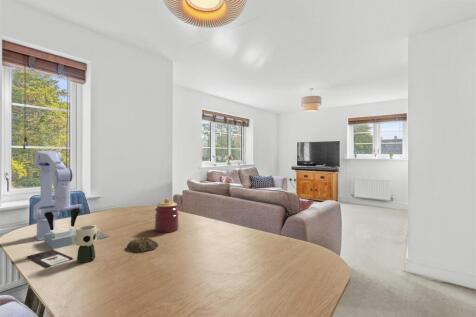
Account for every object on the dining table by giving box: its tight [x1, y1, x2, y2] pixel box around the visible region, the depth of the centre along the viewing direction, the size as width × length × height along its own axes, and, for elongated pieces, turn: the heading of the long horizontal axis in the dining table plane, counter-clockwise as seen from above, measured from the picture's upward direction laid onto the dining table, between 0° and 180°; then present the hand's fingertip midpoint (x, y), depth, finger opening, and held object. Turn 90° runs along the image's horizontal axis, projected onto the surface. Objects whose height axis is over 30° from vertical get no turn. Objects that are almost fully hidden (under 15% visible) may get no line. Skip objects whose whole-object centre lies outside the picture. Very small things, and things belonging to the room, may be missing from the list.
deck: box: [44, 228, 76, 250], centre depth 119 cm, size 14×11×4 cm
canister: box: [154, 197, 180, 233], centre depth 141 cm, size 13×13×18 cm
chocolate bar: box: [26, 248, 74, 269], centre depth 101 cm, size 9×1×18 cm
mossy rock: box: [126, 236, 158, 253], centre depth 113 cm, size 13×12×5 cm
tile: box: [50, 227, 70, 238], centre depth 118 cm, size 9×6×2 cm, turn 50°
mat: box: [96, 231, 110, 241], centre depth 128 cm, size 16×12×1 cm
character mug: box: [72, 224, 101, 263], centre depth 99 cm, size 11×7×13 cm, turn 153°
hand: (62, 227), depth 108 cm, fingers open, 7 cm apart
